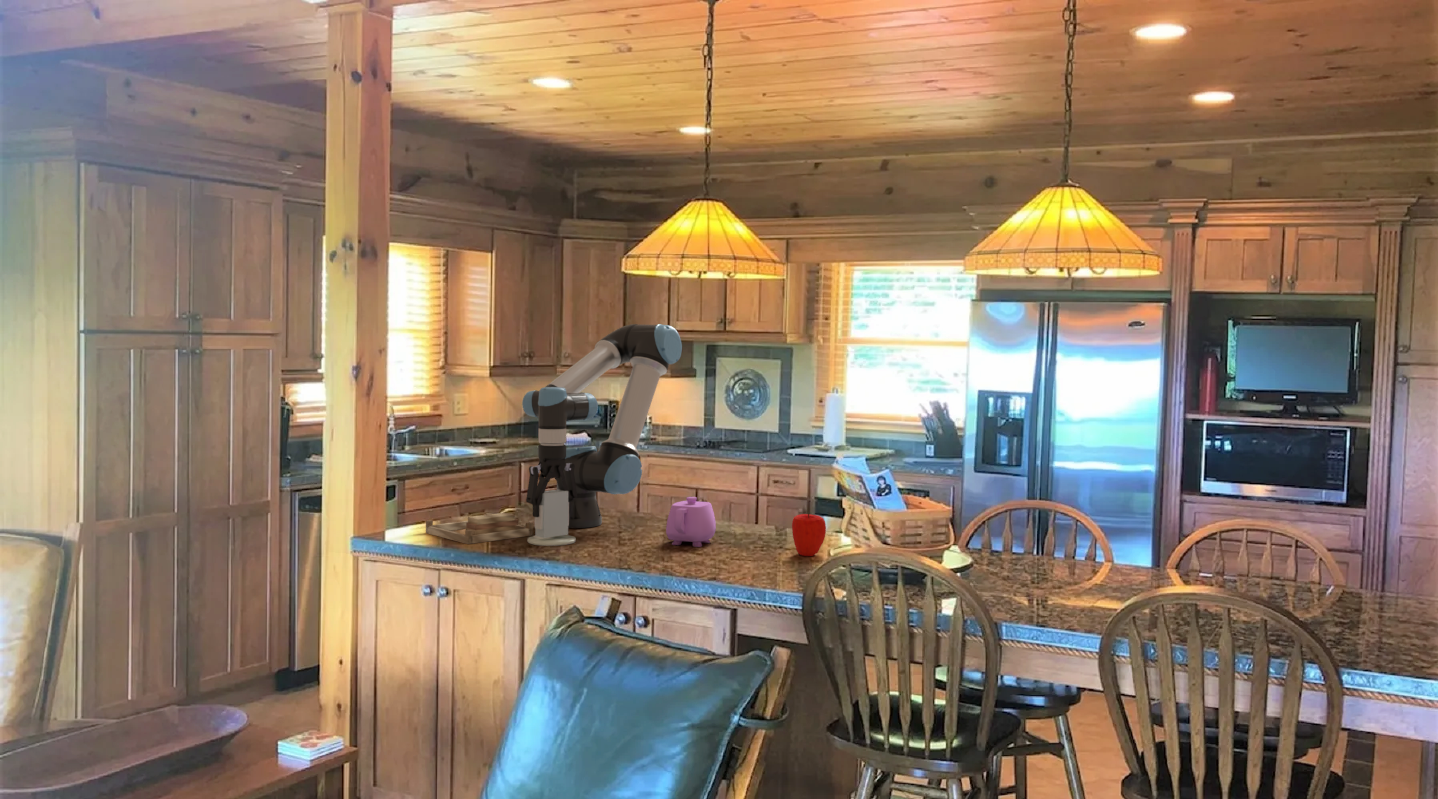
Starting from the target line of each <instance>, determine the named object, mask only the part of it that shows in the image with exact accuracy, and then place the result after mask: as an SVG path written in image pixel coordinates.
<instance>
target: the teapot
mask: <svg viewBox="0 0 1438 799" xmlns="http://www.w3.org/2000/svg"><path fill="white" fill-rule="evenodd" d="M685 499H686V500H682V501H676V502H674V503H673V504H671V505H670V506H671V507H670V510H669V513H668V517H667V520H666V528H665V530H666V531H665V533H666V536H667V538H668V540H670V541H672V542H671V545H673V546H681V545H682V542H690V543H691V542H692V547H694V548H702V547H703V544H710V543H711V541H710V540H711V539H712V538H713V537H714V536H715V533H716V529H717V528H716V526H717V523H716V518H715V516H716V515H715V512H714V509H713V506H712V503H711V502H709V501H697V497H696V496H687V497H685ZM702 543H703V544H702Z"/></svg>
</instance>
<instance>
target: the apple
mask: <svg viewBox="0 0 1438 799" xmlns="http://www.w3.org/2000/svg"><path fill="white" fill-rule="evenodd" d="M826 525H827V524H826V521H825V519H824V518H823V516H821V515H817V514H810V513H802V514H800V513H799V514H797V515H795V516H793V519H792V523H791V530H792V538H793V542H794V547H795V550H796V552H797V553H798V555H800V556H803V557H813V556H815V555H816V554H818V553H819V550H820V549H821V547H822V545H823V543H824V541H825V538H826V532H827V526H826Z"/></svg>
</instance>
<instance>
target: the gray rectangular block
mask: <svg viewBox="0 0 1438 799" xmlns="http://www.w3.org/2000/svg"><path fill="white" fill-rule="evenodd" d="M540 505H543V529H541V530H540V529H536V528H535V533H534V534H535V535H534V536H538V537H542V538H547V537H554V536H561V535H569V528H568V491H563V490H557V489H552V490H551V489H550V490H545V492H544V493H543V498H542V501H541V503H540Z"/></svg>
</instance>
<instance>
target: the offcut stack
mask: <svg viewBox="0 0 1438 799" xmlns="http://www.w3.org/2000/svg"><path fill="white" fill-rule="evenodd" d="M467 521H468V523H466V529H465V530H472V535H479V534H487V533H494V532H502V531H510V530H516V525H519V519H518V518H516V517H515V514H512V513H509V512H500V513H491V514H489V515H485V514H484V515H483V514H482V515H475V516H474V515H472V516H468V517H467Z"/></svg>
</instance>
